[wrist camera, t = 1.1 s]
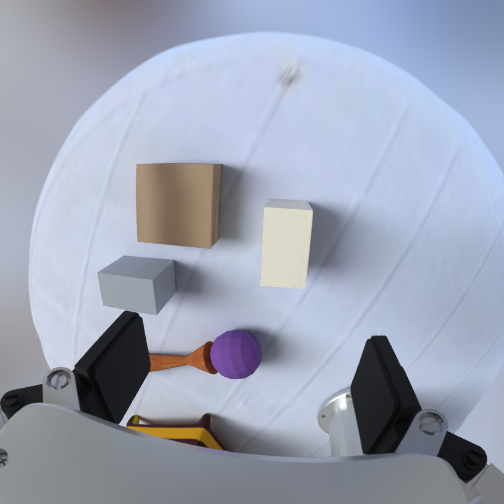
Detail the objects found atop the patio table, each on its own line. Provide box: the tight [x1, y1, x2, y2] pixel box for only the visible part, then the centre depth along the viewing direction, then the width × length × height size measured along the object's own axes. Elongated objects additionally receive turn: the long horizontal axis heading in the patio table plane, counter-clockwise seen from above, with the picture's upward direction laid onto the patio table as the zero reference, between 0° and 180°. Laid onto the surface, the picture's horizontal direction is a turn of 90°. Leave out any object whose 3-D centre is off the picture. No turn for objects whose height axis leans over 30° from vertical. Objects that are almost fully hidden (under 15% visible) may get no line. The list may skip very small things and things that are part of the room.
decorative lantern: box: [126, 414, 227, 451], centre depth 29 cm, size 20×20×30 cm
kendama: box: [149, 330, 261, 379], centre depth 33 cm, size 6×6×20 cm
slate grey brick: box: [98, 256, 176, 315], centre depth 30 cm, size 7×4×6 cm, turn 88°
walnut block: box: [136, 163, 222, 249], centre depth 28 cm, size 8×8×4 cm
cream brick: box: [260, 199, 313, 289], centre depth 26 cm, size 7×4×6 cm, turn 178°
